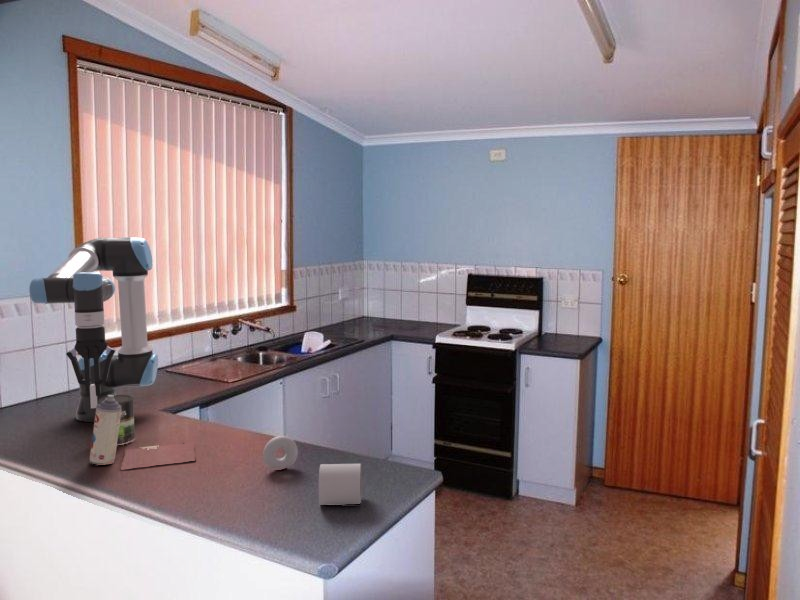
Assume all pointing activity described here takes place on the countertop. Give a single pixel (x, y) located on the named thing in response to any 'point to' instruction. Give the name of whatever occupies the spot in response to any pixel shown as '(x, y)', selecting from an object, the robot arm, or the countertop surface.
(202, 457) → the countertop surface
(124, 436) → the coffee can
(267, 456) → the donut
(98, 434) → the aerosol can
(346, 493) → the toilet paper
